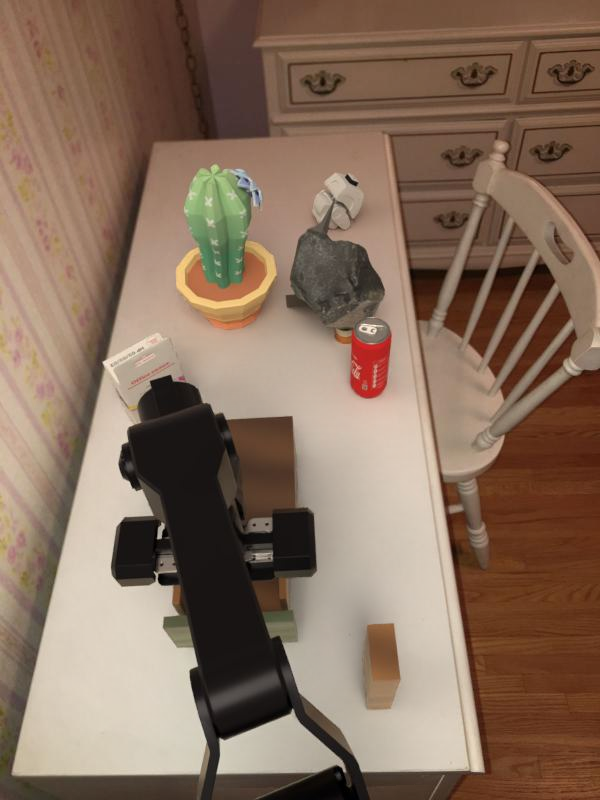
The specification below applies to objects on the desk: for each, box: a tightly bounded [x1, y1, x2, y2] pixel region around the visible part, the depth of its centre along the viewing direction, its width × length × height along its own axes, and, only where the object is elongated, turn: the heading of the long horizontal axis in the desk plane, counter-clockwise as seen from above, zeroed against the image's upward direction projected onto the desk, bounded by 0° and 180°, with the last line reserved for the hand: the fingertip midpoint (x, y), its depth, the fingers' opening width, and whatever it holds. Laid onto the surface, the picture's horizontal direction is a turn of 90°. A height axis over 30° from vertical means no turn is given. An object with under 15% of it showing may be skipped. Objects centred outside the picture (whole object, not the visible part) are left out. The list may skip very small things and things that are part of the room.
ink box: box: [101, 331, 187, 425], centre depth 86 cm, size 8×5×15 cm, turn 127°
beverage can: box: [349, 316, 393, 400], centre depth 88 cm, size 5×5×12 cm
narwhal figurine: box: [285, 197, 386, 345], centre depth 92 cm, size 14×15×18 cm
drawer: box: [162, 577, 298, 649], centre depth 71 cm, size 18×13×7 cm
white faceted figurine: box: [311, 172, 365, 231], centre depth 111 cm, size 6×7×10 cm
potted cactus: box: [175, 164, 278, 331], centre depth 93 cm, size 15×15×25 cm
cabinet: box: [163, 415, 299, 529], centre depth 79 cm, size 15×15×9 cm
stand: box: [362, 622, 402, 711], centre depth 64 cm, size 5×2×13 cm, turn 2°
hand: (228, 578), depth 67 cm, fingers closed on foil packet, 4 cm apart
